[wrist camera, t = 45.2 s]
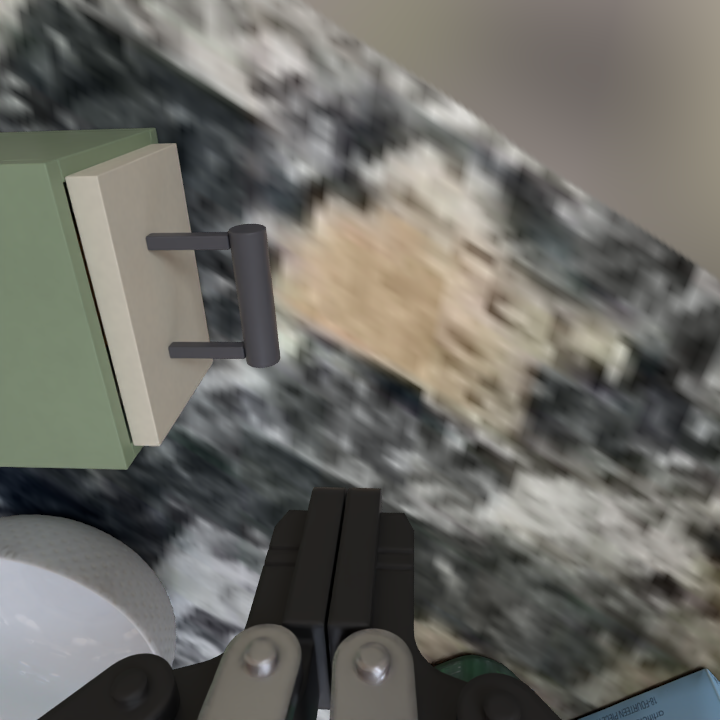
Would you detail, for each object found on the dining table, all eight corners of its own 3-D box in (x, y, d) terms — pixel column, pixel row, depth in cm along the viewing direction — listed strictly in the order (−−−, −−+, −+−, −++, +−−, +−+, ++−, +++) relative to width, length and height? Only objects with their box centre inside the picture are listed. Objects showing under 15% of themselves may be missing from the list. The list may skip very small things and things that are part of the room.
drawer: (282, 140, 27) (237, 172, 20) (302, 362, 32) (272, 448, 25) (-97, 150, 29) (-258, 183, 22) (-19, 360, 34) (-128, 441, 27)
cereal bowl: (227, 531, 40) (192, 621, 34) (170, 673, 47) (133, 768, 41) (-27, 441, 38) (-114, 519, 32) (-44, 603, 46) (-117, 692, 39)
